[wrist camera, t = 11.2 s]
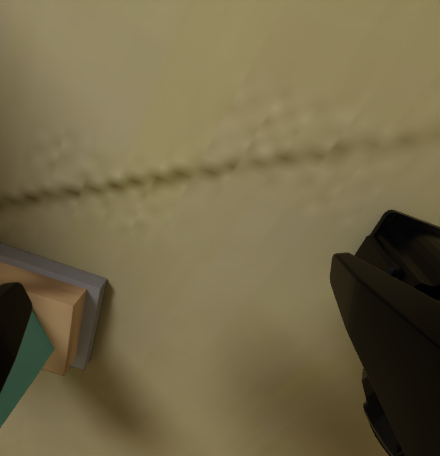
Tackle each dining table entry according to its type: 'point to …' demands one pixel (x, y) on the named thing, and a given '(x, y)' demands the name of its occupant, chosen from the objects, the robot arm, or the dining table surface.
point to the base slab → (71, 276)
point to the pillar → (25, 366)
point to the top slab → (52, 312)
